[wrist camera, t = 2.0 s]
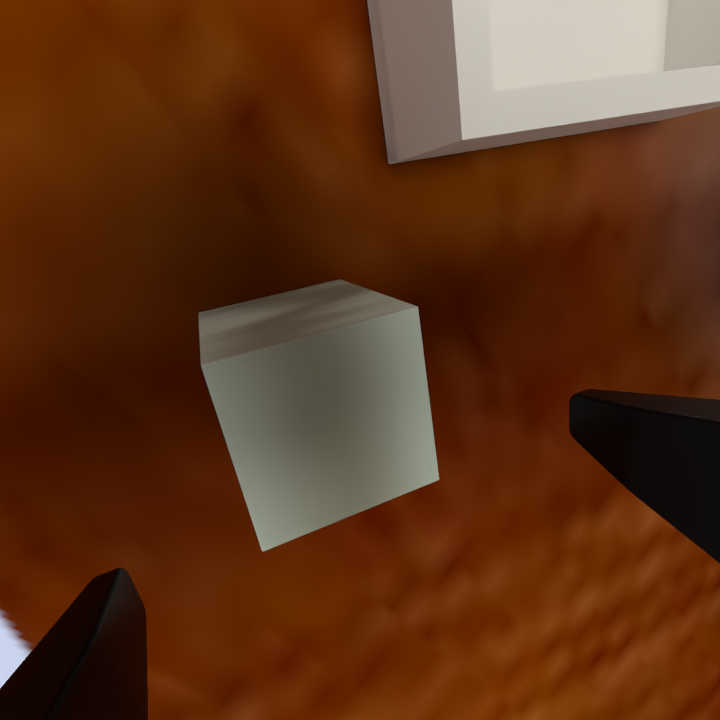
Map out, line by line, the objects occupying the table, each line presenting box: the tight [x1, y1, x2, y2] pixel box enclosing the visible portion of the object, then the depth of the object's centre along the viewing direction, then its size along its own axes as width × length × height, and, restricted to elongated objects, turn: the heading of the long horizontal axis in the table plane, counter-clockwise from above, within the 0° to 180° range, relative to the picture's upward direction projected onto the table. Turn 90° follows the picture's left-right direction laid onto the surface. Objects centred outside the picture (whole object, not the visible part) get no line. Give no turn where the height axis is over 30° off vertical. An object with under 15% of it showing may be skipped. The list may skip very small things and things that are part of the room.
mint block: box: [198, 279, 439, 552], centre depth 13 cm, size 5×5×6 cm
